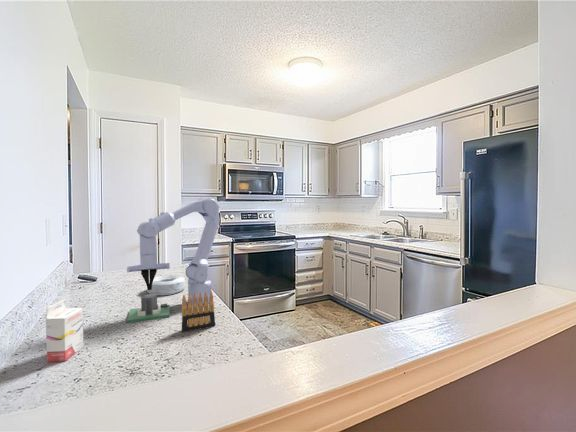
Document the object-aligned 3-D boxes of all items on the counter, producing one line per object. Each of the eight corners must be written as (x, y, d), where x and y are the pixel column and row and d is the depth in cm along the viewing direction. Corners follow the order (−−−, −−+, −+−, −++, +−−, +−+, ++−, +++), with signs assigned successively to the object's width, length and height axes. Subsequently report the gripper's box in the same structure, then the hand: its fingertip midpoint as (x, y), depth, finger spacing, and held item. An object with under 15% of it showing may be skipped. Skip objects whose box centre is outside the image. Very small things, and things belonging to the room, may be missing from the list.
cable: (174, 284, 158) (174, 272, 158) (193, 290, 147) (193, 278, 146) (140, 291, 145) (140, 279, 145) (157, 299, 134) (157, 285, 133)
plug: (157, 309, 117) (156, 294, 116) (150, 314, 112) (150, 298, 111) (147, 309, 117) (146, 294, 117) (140, 314, 112) (139, 298, 112)
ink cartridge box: (66, 361, 81) (63, 307, 80) (46, 362, 81) (43, 308, 80) (84, 346, 90) (83, 297, 89) (67, 347, 89) (65, 297, 88)
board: (169, 306, 123) (169, 300, 123) (169, 317, 112) (169, 310, 112) (130, 311, 118) (130, 305, 118) (126, 323, 107) (126, 316, 106)
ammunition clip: (182, 332, 99) (181, 295, 98) (181, 329, 101) (180, 294, 100) (215, 326, 103) (214, 291, 103) (214, 324, 105) (213, 289, 105)
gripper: (169, 250, 121) (170, 284, 122) (128, 253, 116) (129, 288, 116) (169, 253, 115) (170, 289, 115) (125, 256, 109) (127, 293, 110)
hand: (149, 289), depth 115 cm, fingers closed
